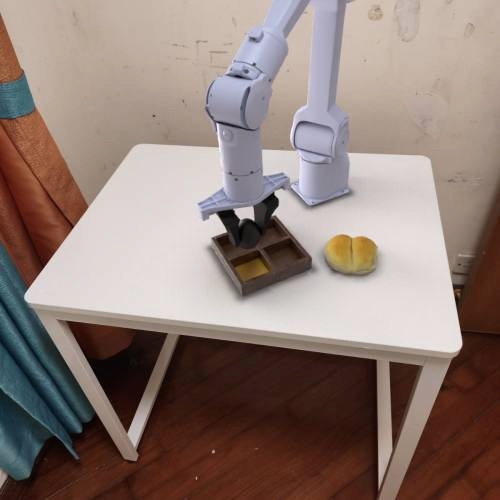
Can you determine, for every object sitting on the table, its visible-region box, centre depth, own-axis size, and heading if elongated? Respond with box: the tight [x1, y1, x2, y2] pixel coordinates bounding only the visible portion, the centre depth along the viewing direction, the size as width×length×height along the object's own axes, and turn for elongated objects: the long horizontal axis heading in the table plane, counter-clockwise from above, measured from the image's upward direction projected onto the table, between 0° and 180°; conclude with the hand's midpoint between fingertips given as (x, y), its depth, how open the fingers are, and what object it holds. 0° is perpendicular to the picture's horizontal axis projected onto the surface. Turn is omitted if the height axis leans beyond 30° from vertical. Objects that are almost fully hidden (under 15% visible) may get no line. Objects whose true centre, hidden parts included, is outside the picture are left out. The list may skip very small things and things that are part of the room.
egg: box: [239, 217, 260, 249], centre depth 70 cm, size 4×4×5 cm
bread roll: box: [323, 233, 379, 275], centre depth 76 cm, size 8×9×4 cm
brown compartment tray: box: [210, 214, 313, 297], centre depth 78 cm, size 13×13×3 cm
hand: (247, 237), depth 71 cm, fingers closed on egg, 4 cm apart
